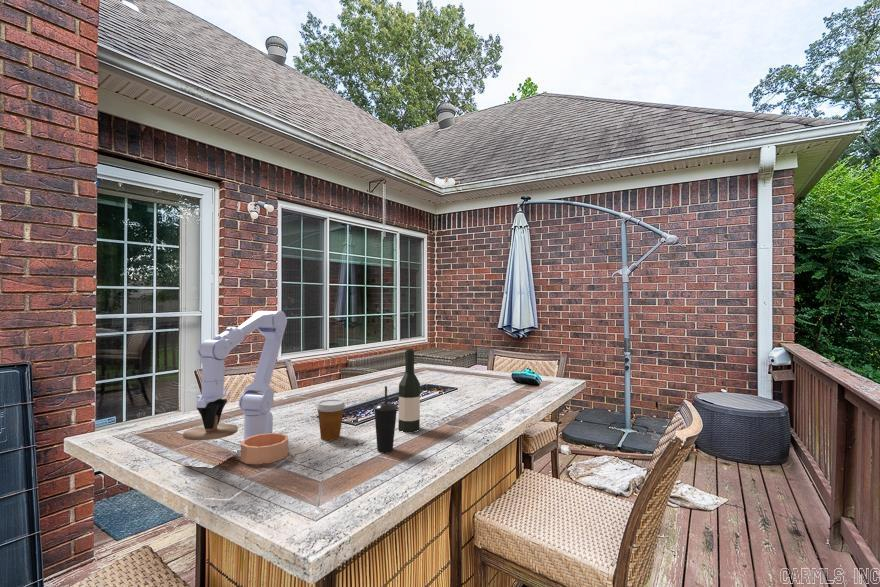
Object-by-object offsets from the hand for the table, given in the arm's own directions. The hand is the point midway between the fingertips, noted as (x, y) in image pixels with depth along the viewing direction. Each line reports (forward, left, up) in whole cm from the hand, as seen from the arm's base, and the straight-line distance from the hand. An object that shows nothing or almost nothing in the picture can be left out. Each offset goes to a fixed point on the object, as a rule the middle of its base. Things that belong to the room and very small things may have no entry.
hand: (211, 426), depth 117 cm
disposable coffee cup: (-24, +27, -10) cm, 37 cm away
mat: (0, 0, -9) cm, 9 cm away
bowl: (-4, +15, -9) cm, 18 cm away
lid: (0, 0, -2) cm, 2 cm away
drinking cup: (-15, +49, -10) cm, 52 cm away
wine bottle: (-37, +52, -10) cm, 64 cm away
